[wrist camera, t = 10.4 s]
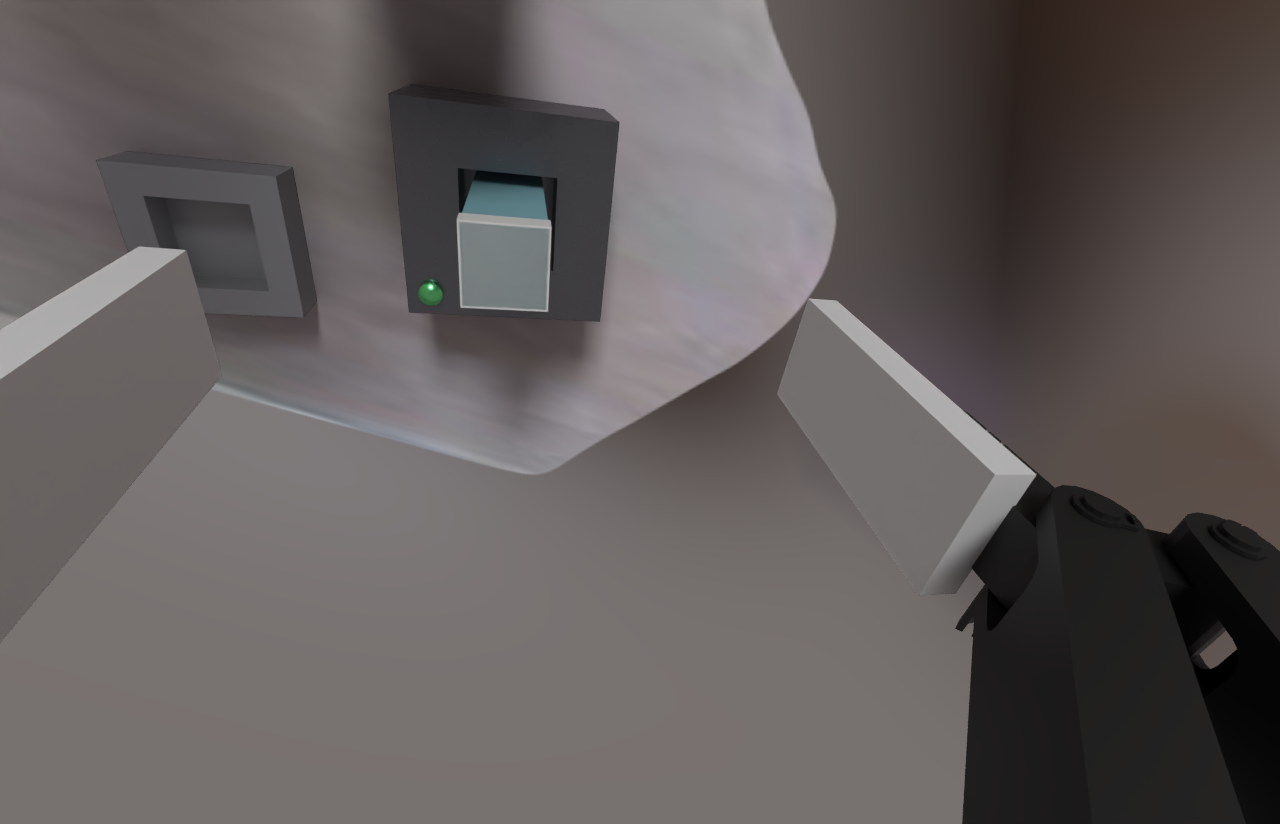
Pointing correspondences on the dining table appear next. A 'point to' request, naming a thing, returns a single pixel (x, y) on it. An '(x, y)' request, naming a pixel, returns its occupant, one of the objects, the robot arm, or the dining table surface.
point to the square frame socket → (218, 227)
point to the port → (514, 144)
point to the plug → (504, 244)
